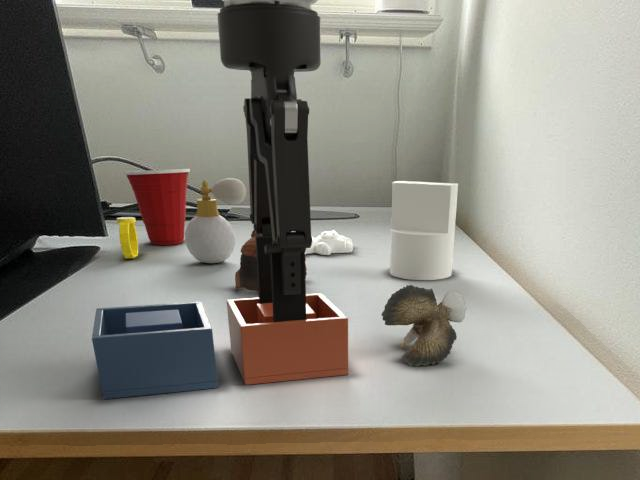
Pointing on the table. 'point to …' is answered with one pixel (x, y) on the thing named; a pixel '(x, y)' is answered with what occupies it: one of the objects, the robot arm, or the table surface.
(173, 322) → the slate block
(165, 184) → the plastic cup
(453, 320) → the eagle figurine
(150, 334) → the slate bin
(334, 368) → the terracotta bin
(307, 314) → the terracotta block
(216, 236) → the perfume bottle
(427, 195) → the cylinder with rectangular tab
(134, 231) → the watch
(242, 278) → the brown wooden carving
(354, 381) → the table surface
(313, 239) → the astronaut figurine
